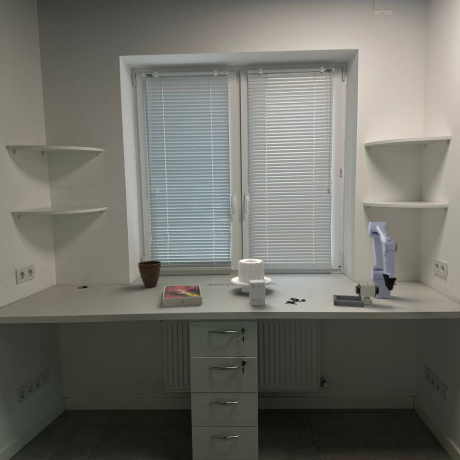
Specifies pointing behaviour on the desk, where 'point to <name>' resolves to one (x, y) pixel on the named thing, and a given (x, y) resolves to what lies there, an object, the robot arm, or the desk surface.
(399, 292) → the desk surface
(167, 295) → the product packaging
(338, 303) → the housing bracket
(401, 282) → the desk surface
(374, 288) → the pneumatic valve
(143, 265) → the plant pot
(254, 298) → the small box
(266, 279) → the ribbed cylinder on disc
